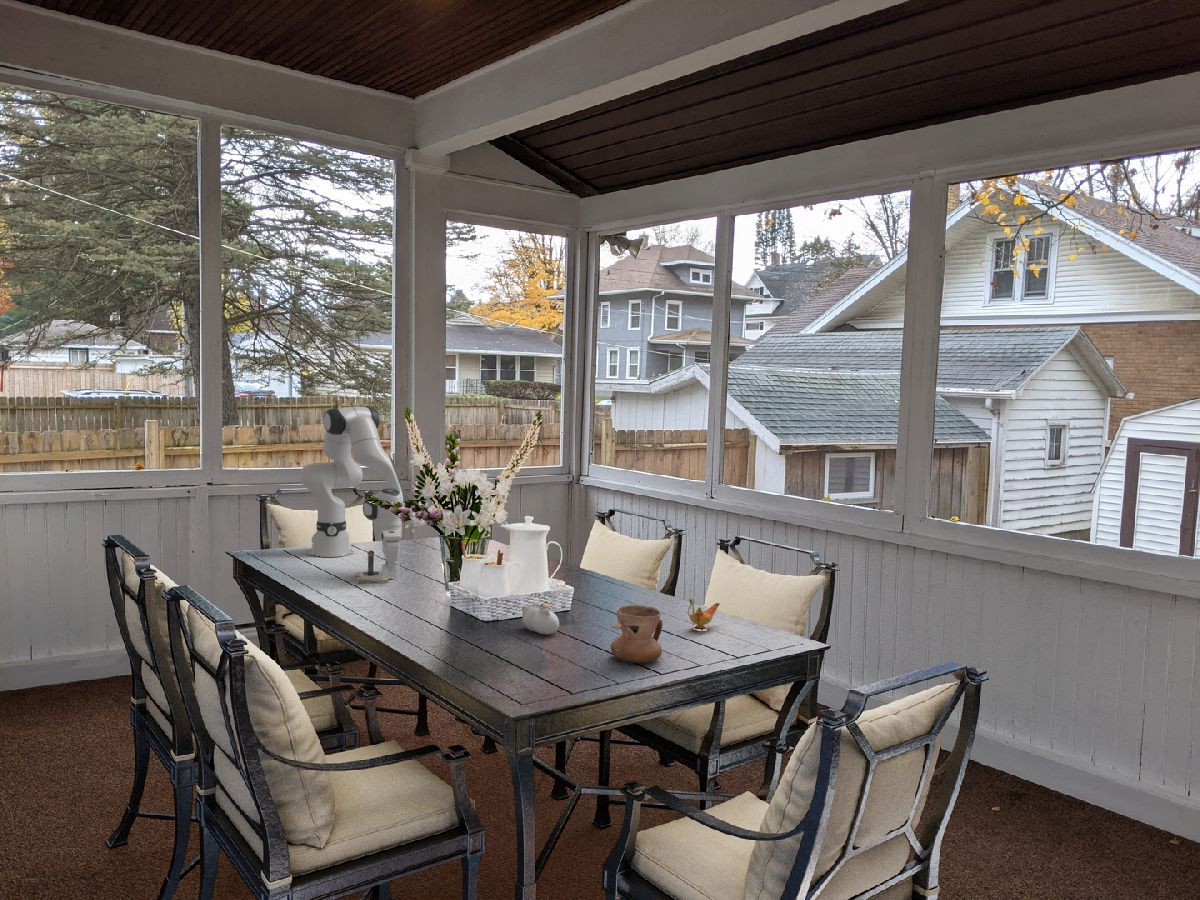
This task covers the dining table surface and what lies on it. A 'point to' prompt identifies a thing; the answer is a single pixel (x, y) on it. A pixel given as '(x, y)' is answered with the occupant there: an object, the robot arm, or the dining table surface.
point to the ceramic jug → (637, 634)
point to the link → (378, 573)
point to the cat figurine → (540, 618)
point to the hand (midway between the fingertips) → (389, 568)
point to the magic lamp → (702, 615)
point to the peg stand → (370, 570)
